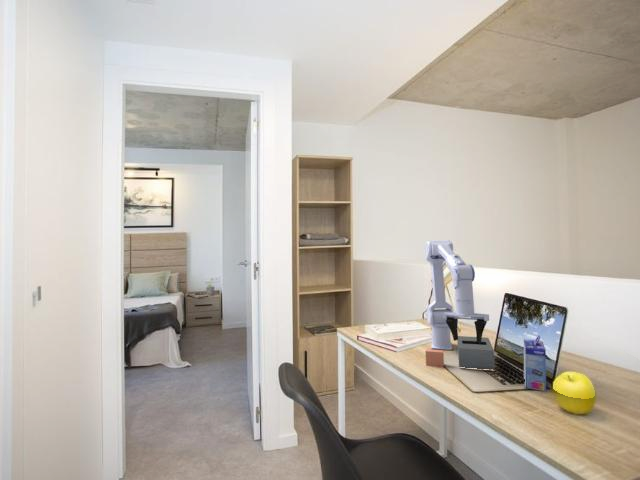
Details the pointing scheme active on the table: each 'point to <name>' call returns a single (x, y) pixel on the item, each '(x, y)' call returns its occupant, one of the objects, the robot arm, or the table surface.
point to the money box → (475, 353)
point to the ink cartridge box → (535, 364)
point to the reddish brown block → (434, 357)
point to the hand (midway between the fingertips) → (467, 341)
